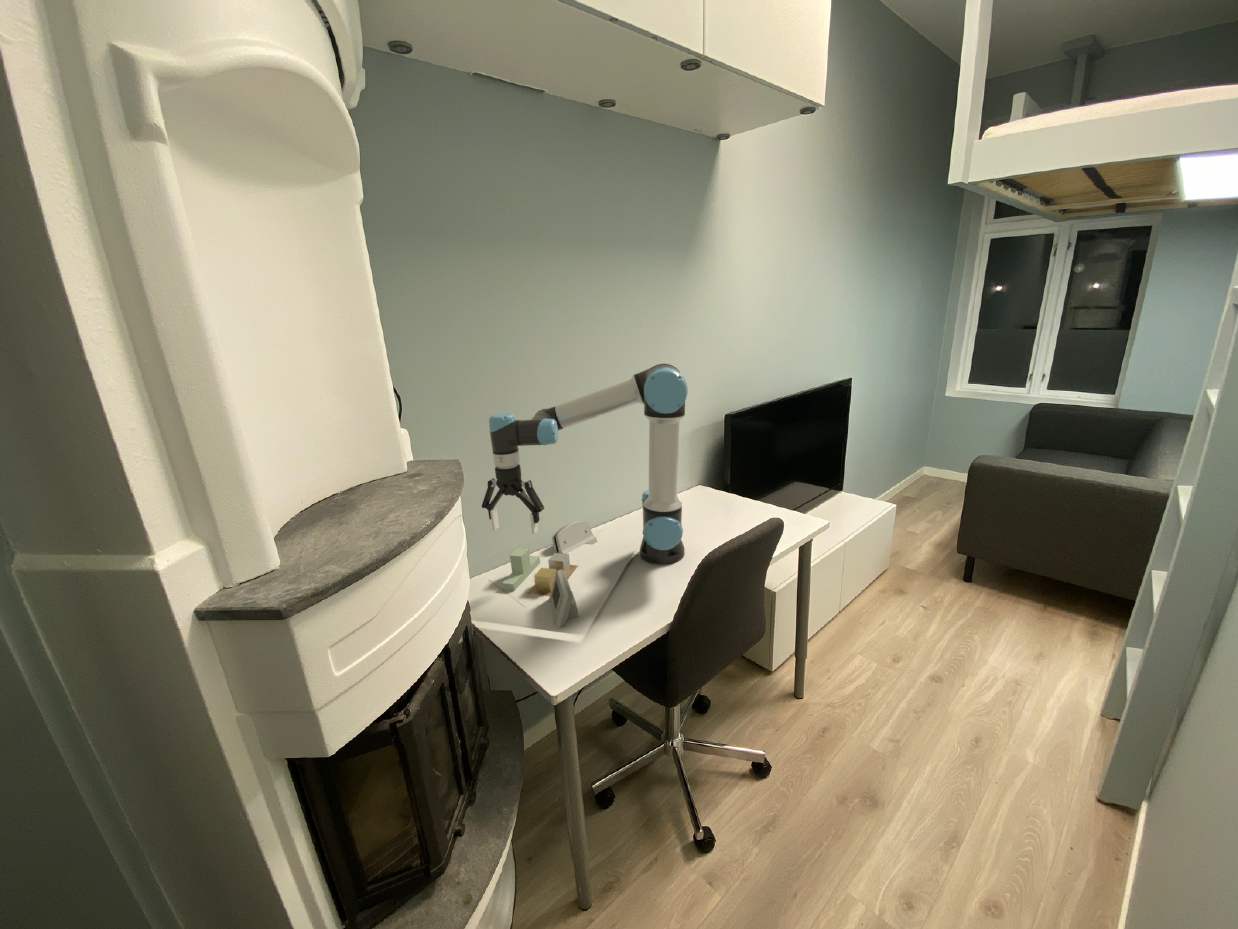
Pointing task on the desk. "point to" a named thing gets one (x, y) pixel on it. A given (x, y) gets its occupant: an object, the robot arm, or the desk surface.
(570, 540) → the white curved block
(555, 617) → the grey picture frame
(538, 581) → the mustard yellow cube
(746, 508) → the desk surface
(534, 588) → the deck
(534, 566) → the stepped sage beam
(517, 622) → the desk surface
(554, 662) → the desk surface
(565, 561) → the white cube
